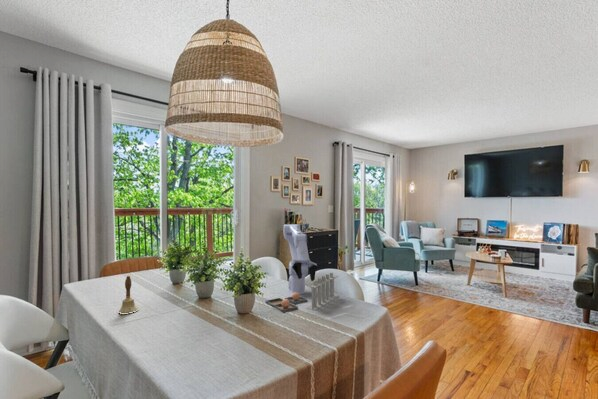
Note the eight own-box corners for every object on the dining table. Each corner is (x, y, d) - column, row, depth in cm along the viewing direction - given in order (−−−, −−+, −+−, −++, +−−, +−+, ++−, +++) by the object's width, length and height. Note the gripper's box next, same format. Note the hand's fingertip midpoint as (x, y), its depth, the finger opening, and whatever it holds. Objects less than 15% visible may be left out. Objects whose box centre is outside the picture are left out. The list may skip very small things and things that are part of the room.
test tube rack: (315, 311, 141) (315, 282, 141) (307, 309, 143) (307, 281, 143) (338, 297, 162) (338, 271, 163) (330, 295, 165) (330, 270, 165)
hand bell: (113, 313, 139) (113, 277, 139) (130, 307, 146) (130, 273, 147) (125, 316, 135) (125, 279, 135) (142, 310, 143) (142, 275, 143)
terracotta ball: (290, 300, 155) (290, 292, 155) (297, 298, 157) (297, 290, 157) (295, 302, 152) (295, 294, 152) (301, 300, 154) (301, 292, 154)
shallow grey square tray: (284, 301, 156) (284, 298, 156) (297, 298, 160) (297, 295, 160) (293, 305, 149) (293, 302, 149) (307, 302, 154) (307, 299, 154)
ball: (279, 307, 145) (279, 299, 145) (286, 305, 147) (286, 297, 147) (284, 310, 141) (284, 301, 141) (291, 308, 144) (291, 299, 144)
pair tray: (265, 303, 151) (265, 300, 151) (279, 300, 156) (279, 297, 156) (283, 313, 138) (283, 310, 138) (297, 309, 143) (297, 306, 143)
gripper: (295, 248, 154) (298, 273, 145) (318, 253, 161) (323, 277, 153) (287, 255, 158) (290, 280, 150) (310, 259, 165) (315, 283, 157)
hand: (306, 279), depth 151 cm, fingers open, 7 cm apart
